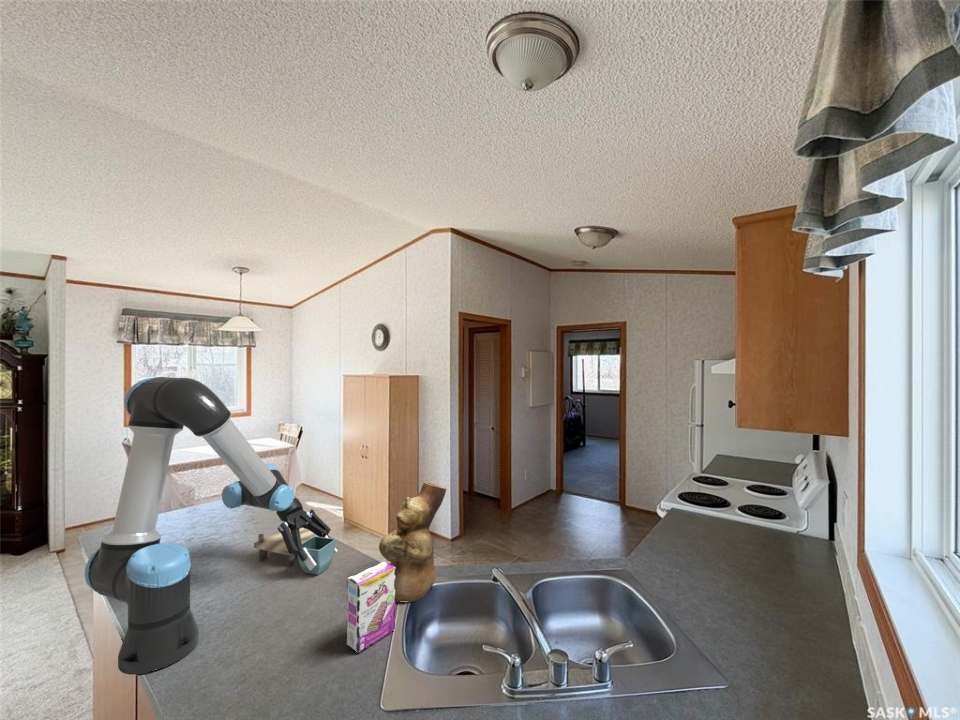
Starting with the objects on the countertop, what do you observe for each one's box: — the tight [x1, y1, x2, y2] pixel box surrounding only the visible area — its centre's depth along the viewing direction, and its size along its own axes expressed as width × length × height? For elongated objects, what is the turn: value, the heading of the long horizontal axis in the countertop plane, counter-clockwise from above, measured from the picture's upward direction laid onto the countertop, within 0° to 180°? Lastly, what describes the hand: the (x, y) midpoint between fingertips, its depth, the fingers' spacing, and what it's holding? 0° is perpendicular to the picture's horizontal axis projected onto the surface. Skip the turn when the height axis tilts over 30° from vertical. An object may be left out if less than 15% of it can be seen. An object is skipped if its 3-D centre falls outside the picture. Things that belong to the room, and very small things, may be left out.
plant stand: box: [253, 527, 323, 568], centre depth 146 cm, size 16×16×8 cm
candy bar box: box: [346, 561, 396, 653], centre depth 102 cm, size 11×5×16 cm, turn 141°
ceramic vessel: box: [378, 481, 447, 604], centre depth 126 cm, size 16×22×30 cm
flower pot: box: [297, 536, 337, 575], centre depth 135 cm, size 9×9×9 cm
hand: (324, 560), depth 133 cm, fingers closed on flower pot, 9 cm apart
